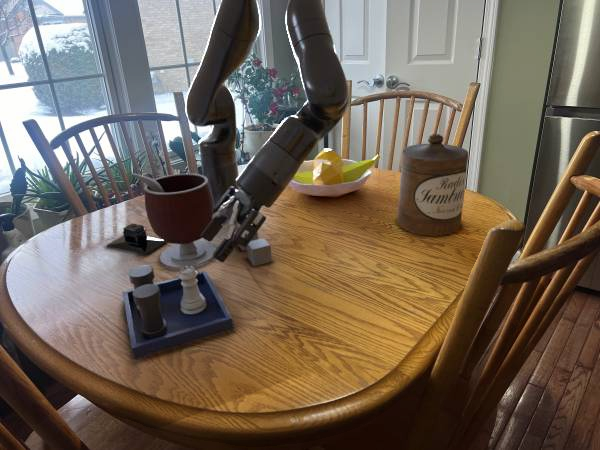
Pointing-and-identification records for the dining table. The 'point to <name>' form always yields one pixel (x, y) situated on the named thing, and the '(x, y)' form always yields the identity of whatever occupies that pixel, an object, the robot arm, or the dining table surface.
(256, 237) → the grey block far
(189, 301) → the rook chess piece
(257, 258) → the grey block near
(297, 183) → the fruit bowl
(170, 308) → the tray
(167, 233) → the mate gourd
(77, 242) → the dining table surface
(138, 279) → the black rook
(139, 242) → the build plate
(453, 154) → the wooden container
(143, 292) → the dark grey cylinder
